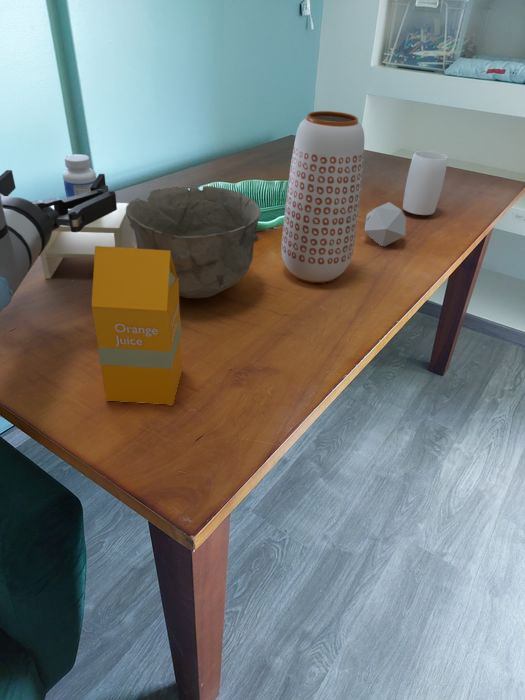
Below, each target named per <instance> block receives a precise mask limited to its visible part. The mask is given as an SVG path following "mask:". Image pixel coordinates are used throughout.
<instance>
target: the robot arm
mask: <svg viewBox="0 0 525 700" xmlns="http://www.w3.org/2000/svg"><path fill="white" fill-rule="evenodd" d="M90 189H91V191H90V192H86V193H83V194H79V195H75V196H72V197H68V198H66V197H65V198H62V199H60V198H58V197H52V198H47V199H44V200H38V199H37V200H32V201H30V200H29V199H26V198H23V197H18V196H10V195H11V194H12V193H13V192H14V191H15V190H16V183H15V177H14V173H13V170H11V169H6V170H5V171H4V172H2V174H0V313H1V312H2V311H4V309H5V308H7V307H8V306H9V305H10V303H11V302H12V299H13V297H14V295H15V294H16V292H17V291H18V289H19V287H20V286H21V284H22V282H23V281H24V279H25V278H26V276H27V275H28V273H29V272H30V270H31V269H32V268H33V266H34V264H35V263H36V261H37V260H38V259H39V257H40V254H41V253H42V251H43V250H44V248H45V247H46V245H47V244H48V242H49V240H50V237H51V234H52V231H53V230H55V229H57V228H59V227H60V226H61V225H62V226H70V228H71V232H80V231H81V230H82V229H83V227H84V226H86V225H88V224H90V223H92V222H94V221H96V220H98V219H100V218H102V217H104V216H106V215H108V214H110V213H112V212H114V211H116V210H117V204H116V203H117V197H116V196H117V193H116V191H113V190H109V186H108V185H107V183H106V175H105V173H99V174H98V175H97V176H96V180H95V181H94V183H93V184H92V186H91V187H90ZM53 205H54V209H53V208H52V207H50V206H53Z"/></svg>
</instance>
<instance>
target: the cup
mask: <svg viewBox="0 0 525 700" xmlns="http://www.w3.org/2000/svg"><path fill="white" fill-rule="evenodd" d="M448 161H449V157H448V155H446V154H444V153H441V152H438V151H434V150H433V151H432V150H417V151H415V152H413V154H412V158H411V161H410V165H409V169H408V173H407V177H406V182H405V188H404V193H403V201H402V210H404V211H405V212H407V213H411V214H413V215H421V216H429V215H433V214H435V212H436V209H437V206H438V204H439V199H440V198H441V197H440V196H441V192H442V189H443V186H444V181H445V177H446V173H447V168H448V167H447V166H448Z"/></svg>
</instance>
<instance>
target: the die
mask: <svg viewBox="0 0 525 700" xmlns="http://www.w3.org/2000/svg"><path fill="white" fill-rule="evenodd" d="M406 229H407V217H406V215H405V213H404V211H403V209H400V208H399V207H398V206H396V205H394V204H393V203H391V202H390V201H388V202H386V203H383V204H381V205H379V206H377V207H375V208H373V209H372V210H370V211H369V212H368V213H366V218H365V225H364V232H365V234H366V235H367V236H368V237H369V238H370V239H371V240H372V239H373V240H372V241H373V242H374V243H376V244H377V243H378V244H379V245H378V244H377V245H378V246H380V245H381V246H384V247H386V246H388V245H390V244H392V243H394V242H396V241H397V240H400V239H403V238H404V237H405V236H406V233H407V232H406ZM381 246H380V247H381Z"/></svg>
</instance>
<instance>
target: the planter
mask: <svg viewBox="0 0 525 700" xmlns="http://www.w3.org/2000/svg"><path fill="white" fill-rule="evenodd" d="M364 131H365V130H364V127H363V126H362V124H361V123H360V122H359V118H358V117H357V116H355V115H354V114H351V113H346V112H340V111H333V110H332V111H331V110H330V111H329V110H317V111H312V112H309V113H307V115H306V117H305V118H303V120H302V121H300V123H299V125H298V127H297V129H296V133H295V139H294V144H293V149H292V150H293V151H292V155H291V161H290V168H289V175H288V183H287V189H286V199H285V206H284V207H285V208H284V217H283V224H282V236H281V244H280V245H281V249H280V251H281V257H282V260H283V261H282V262H283V263H284V265H285V267H286V268H287V269H288V271H289V272H290V273H291V275H292V276H293V277H294V278H296V279H297V280H299V281H301V282H303V283H307V282H308V283H307V284H314V283H322V284H327V283H326V282H328V283H331V282H333V281H335V280H336V279H337V278H339V276H341V275H342V274H343V273H344V272H345V271H346V270H347V268H348V267H349V265H350V263H351V261H352V258H353V254H354V250H355V249H354V248H355V241H356V233H357V227H358V226H357V225H358V218H359V211H360V210H359V209H360V202H361V193H362V183H363V182H362V181H363V172H364V160H365V159H364V157H365V132H364ZM334 279H335V280H334ZM330 281H331V282H330Z"/></svg>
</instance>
